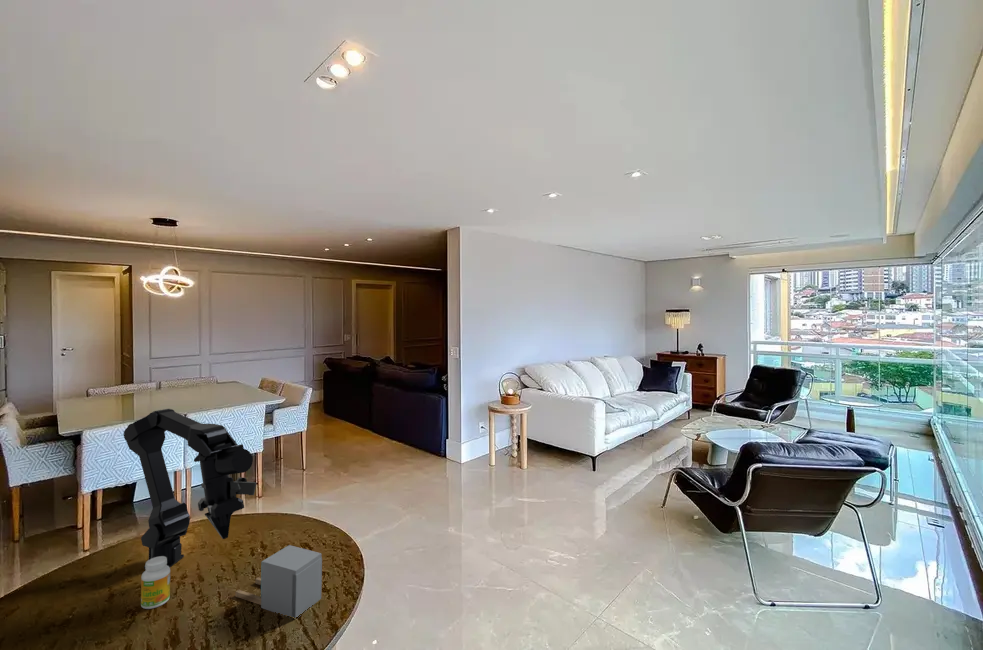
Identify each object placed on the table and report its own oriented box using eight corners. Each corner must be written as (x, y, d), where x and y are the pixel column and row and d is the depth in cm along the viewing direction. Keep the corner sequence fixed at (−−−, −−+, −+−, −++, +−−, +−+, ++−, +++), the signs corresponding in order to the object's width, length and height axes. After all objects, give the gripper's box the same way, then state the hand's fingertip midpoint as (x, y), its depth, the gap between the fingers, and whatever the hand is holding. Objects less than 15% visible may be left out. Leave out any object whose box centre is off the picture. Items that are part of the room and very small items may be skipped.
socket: (261, 607, 101) (261, 561, 101) (288, 588, 109) (289, 544, 109) (295, 619, 98) (296, 571, 98) (321, 598, 105) (322, 553, 105)
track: (235, 596, 105) (235, 591, 105) (258, 581, 111) (258, 577, 111) (263, 605, 102) (264, 600, 102) (285, 590, 108) (285, 585, 108)
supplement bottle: (138, 612, 99) (138, 569, 99) (143, 598, 103) (144, 557, 103) (167, 605, 101) (168, 563, 101) (171, 592, 106) (172, 552, 106)
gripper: (261, 467, 111) (271, 529, 110) (240, 465, 124) (249, 521, 123) (210, 482, 103) (220, 550, 102) (193, 478, 116) (202, 538, 115)
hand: (225, 538), depth 111 cm, fingers closed
